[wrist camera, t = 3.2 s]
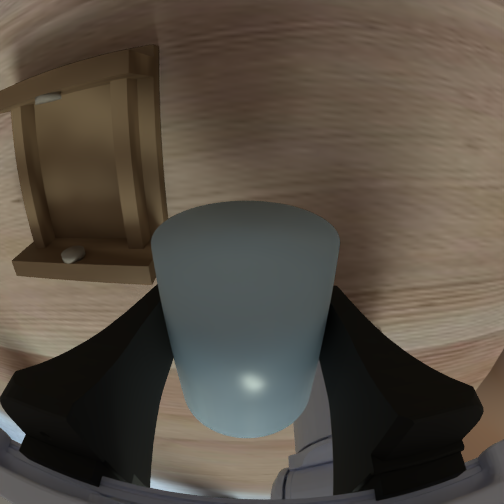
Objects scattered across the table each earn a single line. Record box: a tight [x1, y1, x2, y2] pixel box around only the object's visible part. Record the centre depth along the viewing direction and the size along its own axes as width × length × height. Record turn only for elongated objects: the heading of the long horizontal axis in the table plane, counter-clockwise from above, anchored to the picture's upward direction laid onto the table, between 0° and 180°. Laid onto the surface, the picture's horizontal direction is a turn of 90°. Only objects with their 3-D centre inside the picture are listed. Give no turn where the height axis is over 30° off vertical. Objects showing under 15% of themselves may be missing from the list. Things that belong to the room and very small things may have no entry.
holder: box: [0, 44, 168, 285], centre depth 16 cm, size 14×11×4 cm
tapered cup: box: [151, 201, 340, 438], centre depth 10 cm, size 7×5×5 cm
